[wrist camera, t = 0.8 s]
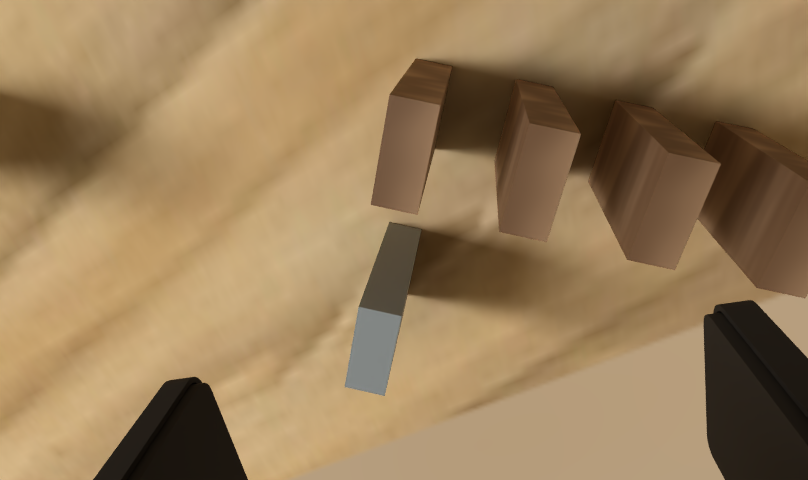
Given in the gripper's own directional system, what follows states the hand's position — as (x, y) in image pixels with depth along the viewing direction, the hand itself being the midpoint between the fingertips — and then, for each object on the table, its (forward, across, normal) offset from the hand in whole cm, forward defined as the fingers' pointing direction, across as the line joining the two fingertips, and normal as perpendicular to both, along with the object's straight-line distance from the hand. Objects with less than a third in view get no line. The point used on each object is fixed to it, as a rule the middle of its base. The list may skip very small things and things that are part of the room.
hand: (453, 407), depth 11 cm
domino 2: (+31, -4, +2) cm, 31 cm away
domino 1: (+31, +2, 0) cm, 31 cm away
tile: (+31, +6, +10) cm, 34 cm away
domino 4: (+30, -16, +7) cm, 35 cm away
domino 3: (+31, -10, +5) cm, 32 cm away
